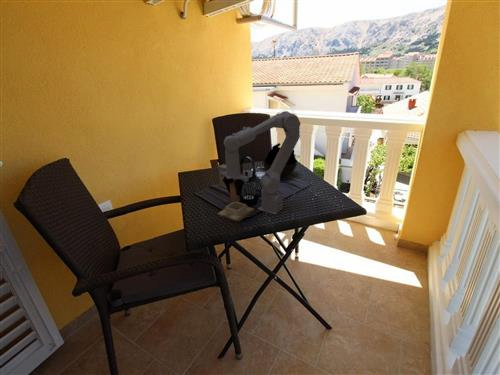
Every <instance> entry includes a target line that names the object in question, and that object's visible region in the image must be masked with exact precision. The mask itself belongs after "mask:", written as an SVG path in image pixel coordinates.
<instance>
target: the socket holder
mask: <svg viewBox="0 0 500 375" xmlns="http://www.w3.org/2000/svg"><path fill="white" fill-rule="evenodd" d="M254 211H255V208H253V207H249V206H248V205H247V204H246V203H243V202H240V201H237V202H232V201H231V202H230V203H228V204H227V205H225V206H224V209H221V211H219V212H218V213H217V216H221V217H223V218H226V219H228V220H232V221H235V222H241V221H242V220H244V219H245V218H246V217H248V216H249V215H251V213H253V212H254Z"/></svg>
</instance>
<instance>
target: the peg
mask: <svg viewBox="0 0 500 375" xmlns="http://www.w3.org/2000/svg"><path fill="white" fill-rule="evenodd" d="M234 182H235V181H233V182H230V183H229V185H230V194H229V195H230V197H229V198H230V201H231V203H232V202H240V195H239V196H237V194H236V187H235V184H234Z"/></svg>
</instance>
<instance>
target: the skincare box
mask: <svg viewBox="0 0 500 375" xmlns="http://www.w3.org/2000/svg"><path fill="white" fill-rule="evenodd" d="M217 168H218V181H219V182H218V183H219V184H218V185H219V187H221V188H224V189H227V187H226V185H225V183H224V182H223V179H224V176H222V177H221V176H220V173H219V172H221V171H226V163H223V164H220V165H218V166H217ZM226 172H227V171H226ZM227 190H228V189H227Z"/></svg>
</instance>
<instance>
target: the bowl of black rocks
mask: <svg viewBox="0 0 500 375" xmlns="http://www.w3.org/2000/svg"><path fill="white" fill-rule="evenodd" d="M280 148H281V143H279V142H278V143H276V144H275V145H272V147H271V149H270V150H269V152H268V154H267V156H266V157H265V158H264V159H262V165H263V168H264V170H265V172H266V171H267V170H269V169H270V167H271V166H272V164H273V162H274V160H275V158H276V156H277V154H278V152H279V150H280ZM297 163H298V160H297V159H296V156H295V150H294V149H293V151H292V153H291V155H290V157H289V159H288V161H287V163H286V165H285V167H284V168H283V170H282V172H281V174H280V179H281V178H286V177H288V176H290V175H291V174H292V173H293V172H294V170H295V169H296V167H297Z"/></svg>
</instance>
